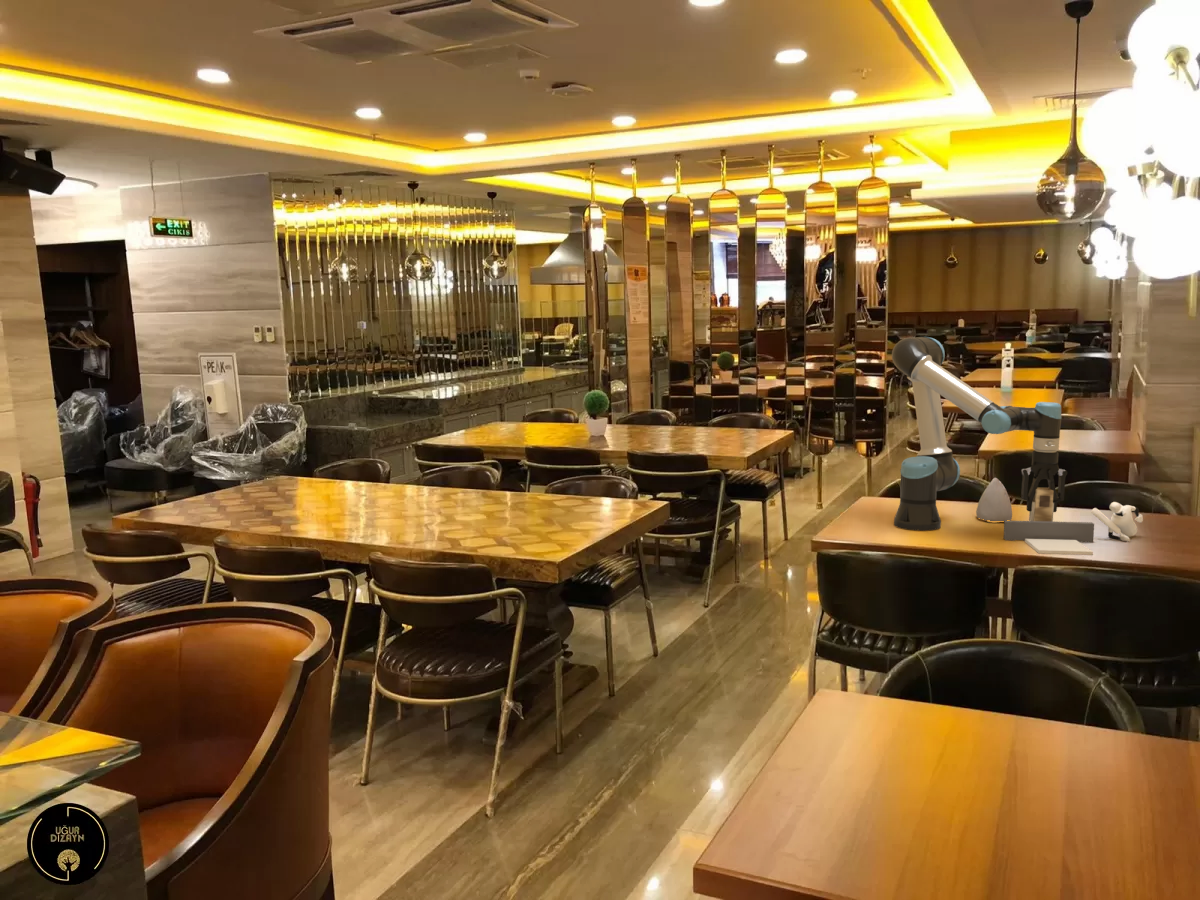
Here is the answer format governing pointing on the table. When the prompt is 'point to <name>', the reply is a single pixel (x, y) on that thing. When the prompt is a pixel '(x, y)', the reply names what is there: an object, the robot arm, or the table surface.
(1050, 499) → the letter block
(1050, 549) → the mat
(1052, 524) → the grey plank
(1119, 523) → the cricket player figurine
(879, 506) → the table surface
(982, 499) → the sculpture
